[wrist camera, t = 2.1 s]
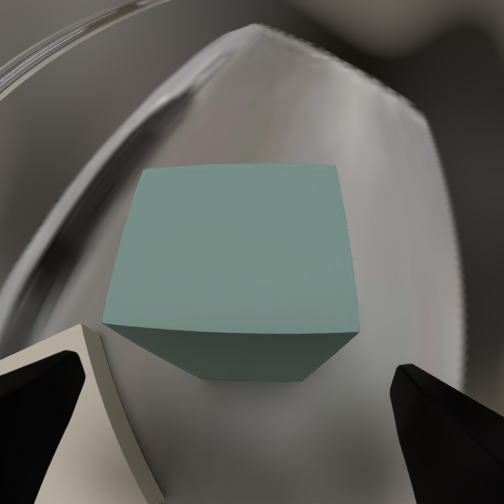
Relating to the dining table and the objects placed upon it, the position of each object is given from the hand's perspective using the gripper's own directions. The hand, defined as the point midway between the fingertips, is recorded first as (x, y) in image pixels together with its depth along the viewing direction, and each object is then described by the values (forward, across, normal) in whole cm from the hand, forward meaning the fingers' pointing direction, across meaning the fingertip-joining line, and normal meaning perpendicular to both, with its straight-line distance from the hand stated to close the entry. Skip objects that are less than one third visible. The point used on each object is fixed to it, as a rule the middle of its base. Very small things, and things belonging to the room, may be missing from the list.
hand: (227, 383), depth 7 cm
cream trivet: (+4, +13, +11) cm, 17 cm away
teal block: (+10, 0, +5) cm, 11 cm away
